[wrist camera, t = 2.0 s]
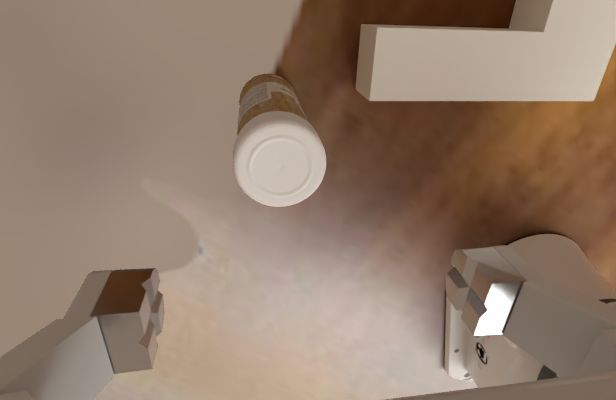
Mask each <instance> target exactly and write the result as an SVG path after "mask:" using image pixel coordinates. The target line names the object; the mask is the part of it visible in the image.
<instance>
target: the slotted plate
mask: <svg viewBox="0 0 616 400" xmlns="http://www.w3.org/2000/svg"><path fill="white" fill-rule="evenodd" d="M615 44H616V0H516V2H515V6H514V10H513V14H512V17H511V21H510V25H509V29H508V28H474V27H441V26H407V25H374V24H361V30H360V42H359V53H358V64H357V75H356V86H355V90H357V91H358V92H359V93H360V94H361V95H363V96H364V97H365V98H366V99H368V100H369V101H594V99H595V96H596V93H597V91H598V88H599V86H600V83H601V80H602V78H603V75H604V72H605V70H606V67H607V65H608V62H609V59H610V57H611V54H612V52H613V49H614V46H615Z"/></svg>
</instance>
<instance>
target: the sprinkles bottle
mask: <svg viewBox="0 0 616 400" xmlns="http://www.w3.org/2000/svg"><path fill="white" fill-rule="evenodd" d="M237 134H238V135H237V139H236V141H235V145H234V152H233V169H234V174H235V177H236V180H237V182H238V184H239V186H240V187H241V189H242V190H243V191H244V192H245V193H246V194H247V195H248V196H249V197H250V198H252V199H253V200H255V201H257V202H259V203H261V204H264V205H268V206H274V207H284V206H290V205H294V204H297V203H299V202H301V201H303V200H305V199H306V198H308V197H309V196H310V195H311V194H312V193H314V191H315V190H316V189H317V188H318V187H319V185H320V183H321V182H322V180H323V177H324V174H325V170H326V154H325V149H324V147H323V144H322V142H321V140H320V138H319V136H318V134H317V132H316V131H315V129H314V128H313V127H312V125H311V124H310V123H309V122H308V121H307V118H306V116H305V114H304V112H303V110H302V107H301V105H300V103H299V101H298V99H297V96H296V94H295V91H294V89H293V87H292V86H291V85H290V84H289V82H288V81H286V80H285V79H283V78H282V77H280V76H278V75H274V74H262V75H258V76H255V77H253V78H252V79H251V80H250V81H249V82H247V83H246V84H245V86H244V87H243V90H242V91H241V94H240V109H239V120H238V132H237Z"/></svg>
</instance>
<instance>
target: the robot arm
mask: <svg viewBox="0 0 616 400" xmlns="http://www.w3.org/2000/svg"><path fill="white" fill-rule="evenodd" d="M451 263H452V265H453V266H454V267H453V268H452V269H451V270H450V271H449V272H448V273H447V277H446V281H445V287H446V293H447V294H446V331H445V371H446V372H447V374H448V375H449V376H450V377H452V378H455V379H458V380H463V381H474V382H475V383H476V385H477V386H478V388H473V389H465V390H457V391H449V392H441V393H433V394H425V395H417V396H409V397H401V398H393V399H386V400H616V290H615V289H614V288H613V287H612V286H611V285H610V284H609V283H608V282H607V281H606V280H605V278H604V277H603V276H602V275H601V274H600V273H599V272H598V271H597V270H596V268H595V267H594V266H593V265H592V264H591V262H590V261H589V260H588V259H587V257H586V256H585V255H584V253H583V252H582V250H581V249H580V247H579V246H578V245H577V244H576V243H575V242H574V241H573V240H571V239H569V238H567V237H565V236H561V235H556V234H540V235H534V236H530V237H526V238H523V239H520V240H518V241H515V242H513V243H511V244H509V245H507V246H506V245H501V246H490V247H485V248H470V249H456V250H455V251H454V253H453V254H452V258H451ZM159 283H160V279H159V274H158V270H157V269H156V268H151V269H149V268H148V269H125V270H114V271H113V270H106V271H93V272H91V273H90V274H88V275H87V278H86V279H85V281H84V283H83V284H82V286H81V288H80V290H79V291H78V293H77V295H76V297H75V299H74V300H73V302H72V304H71V306H70V308H69V309H68V311H67V313H66V315H65V316H64V318H63V319H58V320H55V321H53V322H52V323H50V324H49V325H47V326H46V327H45V328H43V329H41V330H40V331H38V332H37V333H36V334H34V335H32V336H31V337H29V338H28V339H27V340H25V341H24V342H22V343H21V344H19V345H18V346H16V347H15V348H13V349H12V350H10V351H9V352H7V353H6V354H4V355H3V356H1V357H0V400H93V399H94V398H95V397H96V396H97V395H98V394H99V392H100V391H101V390H102V389H103V388H104V387H105V386H106V385H107V384H108V382H109V381H110V380H111V379H112V378H113V377H114V374H117V373H125V372H132V371H140V370H148V369H153V365H154V360H155V356H156V352H157V348H158V343H157V338H156V336H157V335H158V334H160V333H161V332H162V327H163V323H164V300H163V295H162V294H161V293H160V292H159V291H158V287H159Z"/></svg>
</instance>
